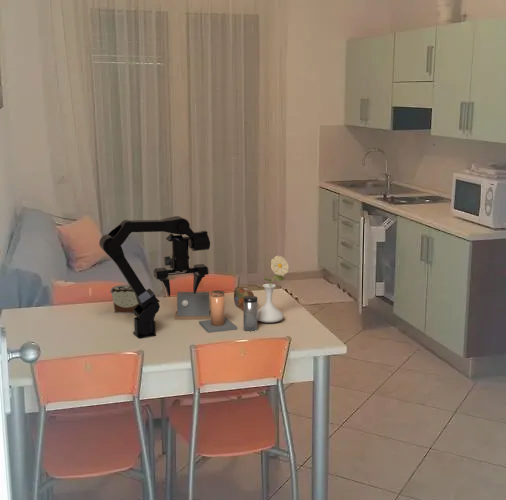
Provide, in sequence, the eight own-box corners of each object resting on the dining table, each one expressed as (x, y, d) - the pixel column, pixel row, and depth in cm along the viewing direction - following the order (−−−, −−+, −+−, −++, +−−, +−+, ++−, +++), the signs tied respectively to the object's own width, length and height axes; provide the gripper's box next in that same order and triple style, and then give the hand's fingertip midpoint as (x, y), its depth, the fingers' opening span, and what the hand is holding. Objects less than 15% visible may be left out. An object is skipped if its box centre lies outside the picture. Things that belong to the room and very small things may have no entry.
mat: (208, 332, 247) (208, 330, 247) (199, 323, 257) (199, 321, 257) (237, 329, 251) (237, 326, 251) (227, 320, 261) (227, 318, 261)
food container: (145, 309, 275) (145, 284, 273) (141, 313, 269) (141, 289, 267) (115, 308, 276) (114, 283, 274) (110, 312, 270) (110, 287, 268)
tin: (233, 304, 282) (233, 284, 280) (240, 303, 283) (240, 283, 282) (248, 314, 269) (248, 293, 267) (255, 313, 270) (256, 292, 268)
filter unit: (174, 319, 262) (174, 296, 260) (176, 313, 270) (175, 290, 268) (211, 319, 262) (211, 296, 260) (211, 313, 270) (211, 290, 268)
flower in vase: (258, 326, 254) (259, 260, 249) (250, 317, 265) (250, 253, 260) (292, 323, 258) (293, 258, 253) (282, 314, 269) (283, 251, 263)
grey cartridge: (247, 332, 248) (247, 300, 245) (241, 328, 252) (241, 296, 249) (259, 330, 250) (259, 298, 247) (253, 326, 254) (253, 295, 252)
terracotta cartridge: (217, 326, 250) (217, 294, 248) (208, 323, 254) (207, 292, 251) (227, 323, 254) (227, 292, 252) (217, 320, 257) (217, 289, 255)
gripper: (199, 245, 255) (200, 286, 258) (149, 250, 248) (151, 291, 252) (208, 251, 244) (209, 294, 248) (156, 256, 238) (158, 300, 241)
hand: (181, 294), depth 247 cm, fingers open, 9 cm apart
